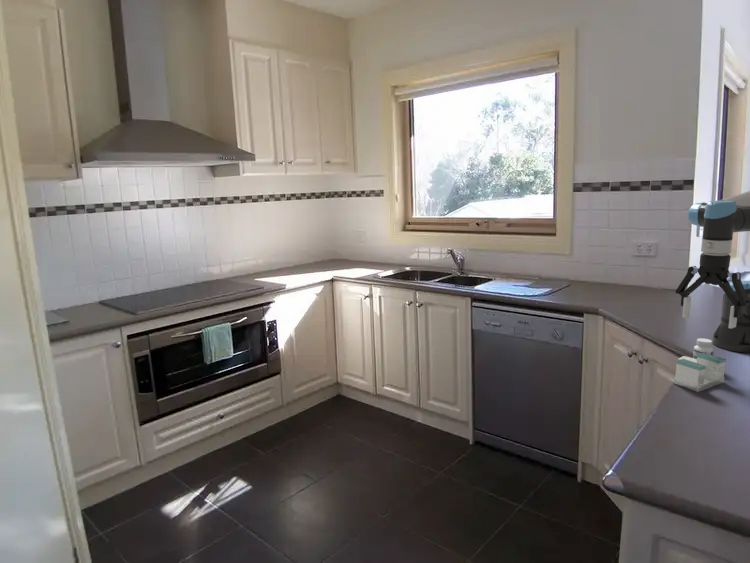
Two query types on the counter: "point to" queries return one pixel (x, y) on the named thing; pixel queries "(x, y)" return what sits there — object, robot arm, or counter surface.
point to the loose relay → (688, 359)
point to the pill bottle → (703, 347)
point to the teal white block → (700, 372)
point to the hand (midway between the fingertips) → (708, 322)
